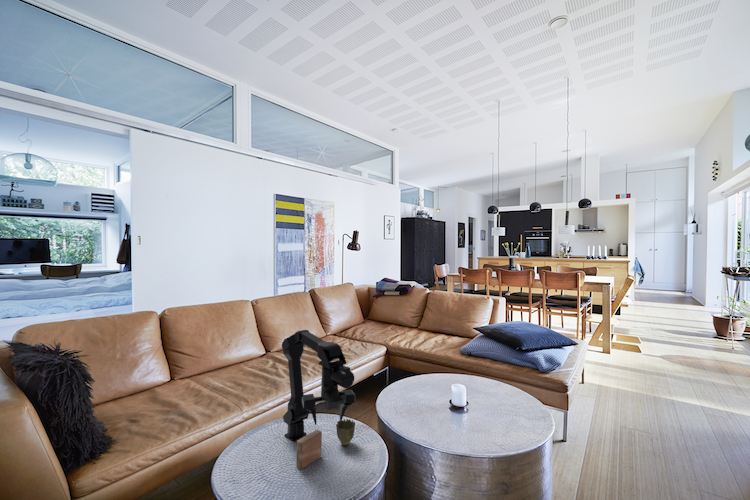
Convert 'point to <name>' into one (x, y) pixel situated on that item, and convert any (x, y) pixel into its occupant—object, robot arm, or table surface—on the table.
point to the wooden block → (309, 449)
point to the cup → (345, 431)
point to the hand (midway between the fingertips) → (328, 422)
